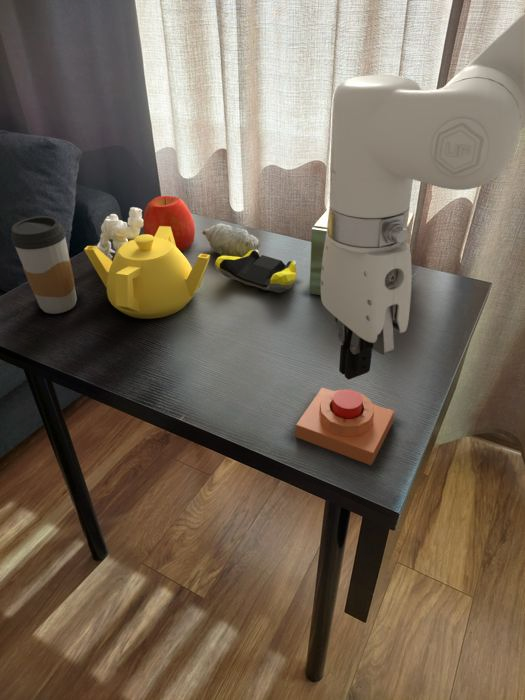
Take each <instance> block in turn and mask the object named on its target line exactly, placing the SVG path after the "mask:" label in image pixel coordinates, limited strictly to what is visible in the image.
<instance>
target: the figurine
mask: <svg viewBox="0 0 525 700" xmlns="http://www.w3.org/2000/svg"><path fill="white" fill-rule="evenodd" d="M142 212H143V210H142V209H141V208H139V207H135V206H132V207H130V208H129V211H128V218H127V222H126V221H123V220H121V219H119V216H118V215H117V214H116V213H111V214H109V215H107V216H106V217H105V218H104V220H103V223H102V224H101V226H100V231H101V233H100V236H99V237H100V239H99V242H98V243H97V245H96V246H97V248H98V249H99V250H100V251H101V252H102V253H103V254H105V255H106V256H107V257H108V258H109V259H110V260H111V261H113V259H114V257H113V255H112V254H116V253H117V251H118V250H119V248H120V247H121V246H122V245H123V244H125V243H127V242H129V240H134V239H135V238H136V237H137V236H139V235H140V233H141V229H142V228H143V221H144V220H143V213H142ZM110 240H112V242H111V241H110ZM112 246H113V249H112ZM111 253H112V254H111Z"/></svg>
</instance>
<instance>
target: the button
mask: <svg viewBox="0 0 525 700" xmlns="http://www.w3.org/2000/svg"><path fill="white" fill-rule="evenodd" d="M338 390H339V391H337V392H336V393H335V394H334V396H333V402H332V411H333V412H334V414H335V415H336V416H338V417H340V418H343V419H354V418H356V417H358V416H359V415H360V414H361V411H362V403H363V399H362V396H361V395H360V394H359V393H360V392H358V391H356V390H354V389H349V388H348V389H347V388H345V389H344V388H343V389H338Z"/></svg>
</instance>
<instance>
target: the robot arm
mask: <svg viewBox="0 0 525 700" xmlns="http://www.w3.org/2000/svg"><path fill="white" fill-rule="evenodd" d="M420 85H421V84H419V83H418V82H417V81H416V80H414V79H412V78H410V77H406V76H401V75H391V74H390V75H389V74H369V75H361V76H354V77H351V78H348V79H345V80H344V81H342V82H340V83H339V84H338V85H337V87H336V88H335V90H334V92H333V94H332V99H331V112H330V113H331V114H330V138H329V141H330V142H329V143H330V144H329V166H328V167H329V169H328V194H327V195H328V197H327V200H328V201H327V209H328V219H327V234H326V239H325V245H324V251H323V259H322V269H321V295H320V300H321V303H322V305H323V307H324V308H325V309H326V310H327V311H328V312H329V313H330V314H332V316H333V317H334V320H335V322H336V325H337V326H336V327H337V339H338V342H339V343H340V349H339V350H340V351H339V352H340V353H339V365H338V366H339V369H338V370H339V373H340V374H341V375H343V376H344V377H345V379H346V380H352V379H354V378H357V377H360V376H362V375H365V374H367V373H370V372H369V371H370V370H371V364H372V363H371V362H372V355H373V354H372V353H373V351H374V352H376V353H378V354H380V355H387V354H388V353H391V352H393V351H395V341H394V331H395V332H397V333H399V334H402V333H406V331H407V329H408V326H409V320H410V310H411V300H412V280H413V273H412V270H413V268H412V254H411V253H412V252H411V245H410V243H409V244H408V243H407V242H405V241H406V240H407V238H408V235H409V233H408V231H407V224H408V216H409V213H410V207H411V206H410V205H411V199H412V191H413V183H414V181H417V182H420V183H423V184H427V185H430V186H434V187H437V188H441V189H447V190H455V191H456V190H457V191H465V190H471V189H476V188H479V187H482V186H484V185H486V184H488V183H489V182H491V181H493V180H494V179H495V178H497V177H498V176H499V175H500V174H502V172H503V171H504V170H505V168H507V166H508V164H509V163H510V161H511V160H512V157H513V155H514V153H515V150H516V147H517V143H518V140H519V135H520V131H521V130H523V129H524V128H525V11H524V12H523V13H522V14H521V15H520V16H519V17H517V19H515V20H514V21H513V22H512V23H511V24H510V25H509V26H508V27H507V28H506V29H505V30H504V31H502V33H500V34H499V35H498V36H497V37H496V38H494V40H492V42H491V43H490V44H488V46H486V47H485V48H484V49H483V50H482V51H481V52H480V53H478V55H476V56H475V57H474V58H473V59H472V60H471V61H470V62H468V64H467V65H465V66H464V67H463V68H462V69H461V70H460V71H459V72H458V73H456V74H455V75H454V76H453V77H452V78H451V79H450V80H449V81H448V82H447V83H446V84H445V85H444V86H443V87H440V88H438V89H422V87H421V86H420Z"/></svg>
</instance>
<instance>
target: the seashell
mask: <svg viewBox="0 0 525 700" xmlns="http://www.w3.org/2000/svg"><path fill="white" fill-rule="evenodd" d="M202 235H203V236H205V238H206V239H207V241H208V243H209V246H210V247H211V249H212V250H213V252H215V253H217V254H219V255H220V256H234V257H244V256H245V255H246V254H247V253H248V252H250V251H252V250H258V251H259V250H260V248H261V245H262V243H261V241H260V240H259V239H258V237H256V236H254V235H253V234H250V233H249V232H248V230H247V229H244V228H239V227H233V226H231V225H229V224H223V223H220V222H218V223H216V225H215V224H214V225H212V226H210V227H209V228H207V229H206V228H204V229H203V230H202Z"/></svg>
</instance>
